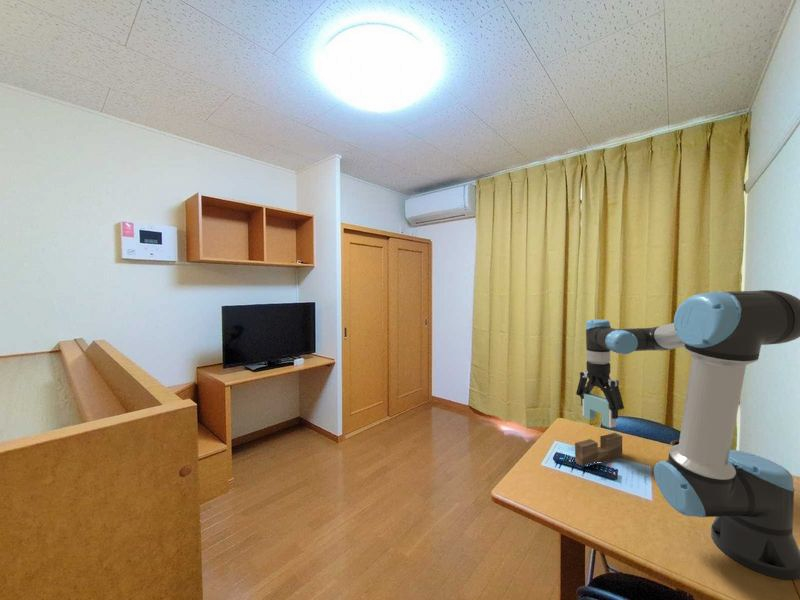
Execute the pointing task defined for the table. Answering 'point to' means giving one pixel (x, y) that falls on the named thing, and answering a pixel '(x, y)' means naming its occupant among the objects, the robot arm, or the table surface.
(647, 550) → the table surface
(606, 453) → the walnut fin
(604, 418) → the light blue piece
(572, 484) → the table surface
